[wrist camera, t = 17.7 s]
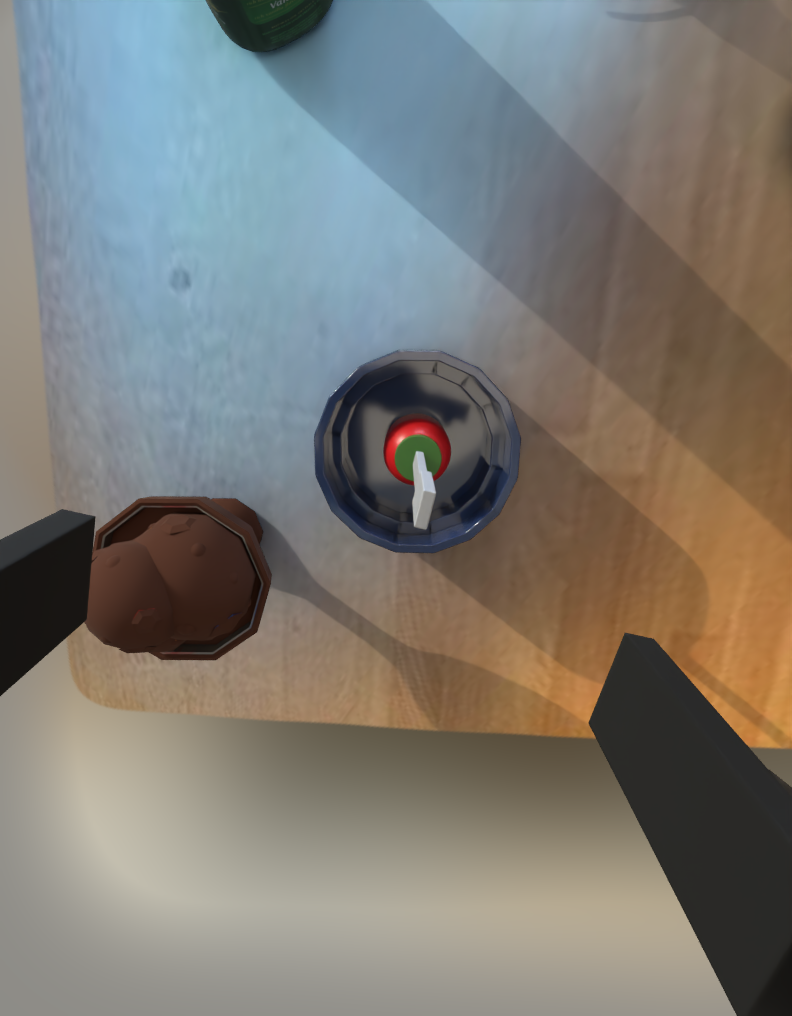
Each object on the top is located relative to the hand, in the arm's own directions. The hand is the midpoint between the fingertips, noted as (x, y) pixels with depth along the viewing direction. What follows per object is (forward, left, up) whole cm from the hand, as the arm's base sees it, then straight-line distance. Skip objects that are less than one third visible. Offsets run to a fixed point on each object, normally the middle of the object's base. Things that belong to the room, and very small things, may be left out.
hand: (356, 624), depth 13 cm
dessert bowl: (+1, +2, -28) cm, 28 cm away
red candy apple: (+1, +2, -27) cm, 27 cm away
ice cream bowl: (+2, -14, -28) cm, 31 cm away
